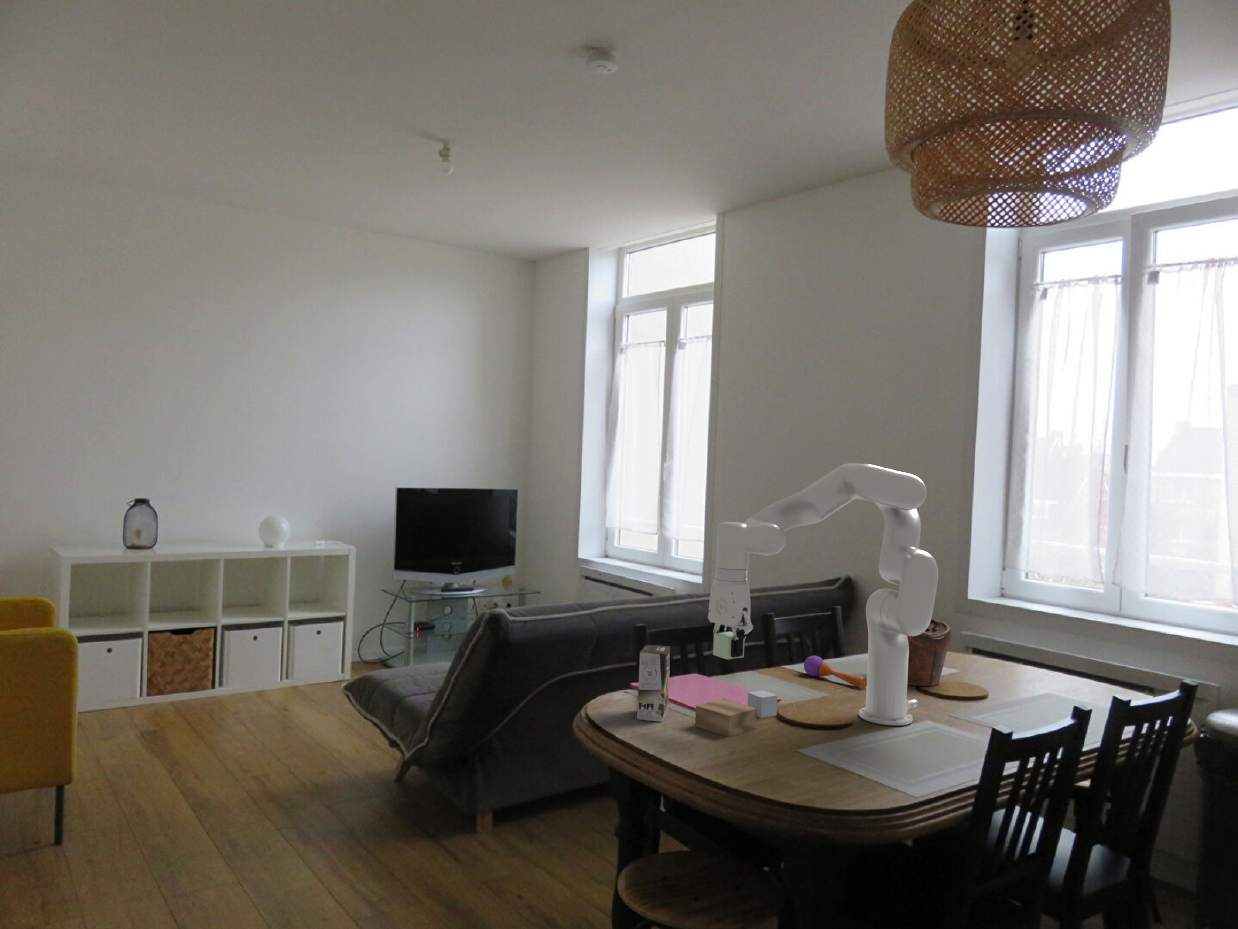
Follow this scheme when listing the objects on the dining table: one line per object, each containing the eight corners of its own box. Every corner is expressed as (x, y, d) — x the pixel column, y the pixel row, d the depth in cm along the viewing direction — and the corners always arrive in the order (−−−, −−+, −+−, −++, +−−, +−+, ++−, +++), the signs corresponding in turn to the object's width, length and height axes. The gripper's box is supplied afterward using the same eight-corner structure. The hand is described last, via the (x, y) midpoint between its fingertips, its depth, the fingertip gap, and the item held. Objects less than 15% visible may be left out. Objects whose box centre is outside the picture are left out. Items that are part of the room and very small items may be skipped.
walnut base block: (723, 719, 213) (723, 698, 213) (756, 730, 206) (757, 708, 206) (695, 727, 206) (696, 705, 206) (728, 738, 199) (729, 716, 199)
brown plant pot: (957, 678, 260) (958, 617, 260) (941, 693, 243) (943, 628, 243) (895, 669, 270) (897, 610, 269) (876, 683, 253) (877, 620, 253)
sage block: (729, 652, 209) (730, 631, 209) (743, 657, 205) (744, 635, 205) (713, 654, 206) (713, 633, 206) (727, 659, 202) (728, 637, 202)
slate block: (762, 710, 221) (763, 690, 221) (776, 715, 217) (777, 695, 217) (747, 713, 218) (748, 692, 218) (761, 718, 214) (762, 697, 214)
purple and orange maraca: (857, 677, 242) (799, 656, 258) (857, 697, 244) (799, 676, 259) (870, 670, 246) (812, 650, 261) (870, 690, 247) (812, 669, 263)
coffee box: (663, 722, 208) (665, 653, 208) (636, 720, 209) (638, 651, 209) (669, 711, 217) (671, 645, 216) (643, 709, 218) (645, 643, 218)
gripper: (695, 571, 210) (692, 647, 211) (744, 581, 196) (740, 663, 197) (720, 570, 215) (717, 645, 215) (769, 580, 200) (765, 660, 201)
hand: (728, 653), depth 206 cm, fingers closed on sage block, 4 cm apart
